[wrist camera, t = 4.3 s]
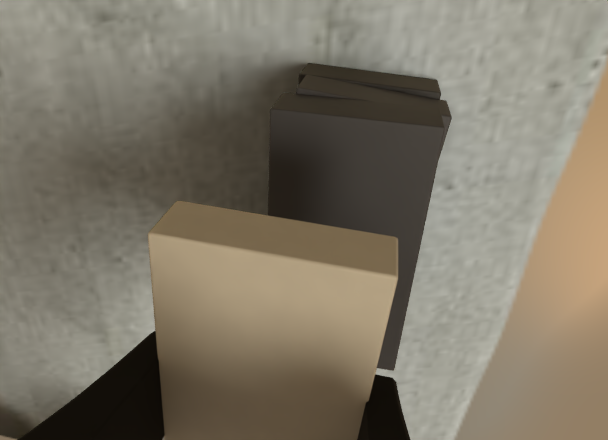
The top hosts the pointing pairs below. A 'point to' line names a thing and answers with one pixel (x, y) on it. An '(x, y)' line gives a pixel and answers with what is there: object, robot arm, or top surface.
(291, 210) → the dark grey-brown flat block
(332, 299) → the beige flat slab
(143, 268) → the top surface
